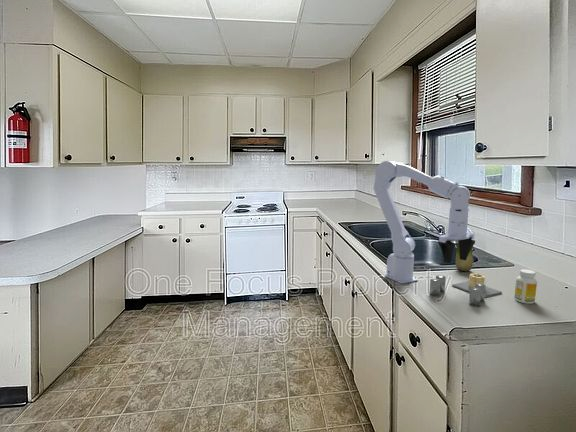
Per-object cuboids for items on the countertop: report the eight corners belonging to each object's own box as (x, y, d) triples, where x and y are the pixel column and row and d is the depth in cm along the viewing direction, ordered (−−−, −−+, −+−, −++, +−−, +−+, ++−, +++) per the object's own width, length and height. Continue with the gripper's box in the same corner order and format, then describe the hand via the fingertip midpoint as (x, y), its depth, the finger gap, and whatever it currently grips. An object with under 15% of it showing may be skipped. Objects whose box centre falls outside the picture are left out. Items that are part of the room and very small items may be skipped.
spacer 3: (466, 303, 108) (467, 288, 108) (473, 302, 110) (474, 286, 109) (475, 307, 106) (476, 291, 105) (482, 305, 107) (483, 289, 106)
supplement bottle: (512, 300, 111) (515, 271, 109) (516, 296, 115) (519, 267, 113) (533, 305, 107) (536, 275, 106) (536, 300, 111) (539, 271, 109)
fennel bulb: (453, 270, 142) (455, 241, 141) (458, 267, 146) (460, 239, 144) (468, 273, 138) (471, 243, 136) (473, 270, 141) (476, 241, 140)
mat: (452, 286, 124) (452, 284, 124) (469, 282, 128) (469, 280, 127) (483, 297, 113) (483, 296, 113) (501, 293, 117) (502, 291, 117)
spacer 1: (427, 294, 116) (428, 279, 116) (434, 292, 118) (435, 278, 117) (434, 297, 114) (435, 282, 113) (441, 295, 115) (442, 280, 114)
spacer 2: (433, 290, 120) (434, 275, 119) (439, 288, 121) (440, 274, 121) (440, 293, 117) (441, 278, 117) (446, 291, 119) (447, 277, 118)
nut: (465, 286, 122) (466, 274, 121) (474, 284, 123) (475, 272, 123) (478, 291, 117) (479, 278, 116) (487, 289, 119) (488, 276, 118)
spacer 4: (471, 299, 112) (472, 284, 111) (477, 297, 113) (479, 282, 113) (480, 302, 109) (481, 287, 109) (486, 300, 111) (487, 285, 110)
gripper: (452, 225, 113) (449, 266, 115) (483, 222, 119) (480, 261, 121) (435, 222, 119) (432, 261, 121) (465, 219, 125) (462, 256, 127)
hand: (455, 261), depth 121 cm, fingers open, 7 cm apart
